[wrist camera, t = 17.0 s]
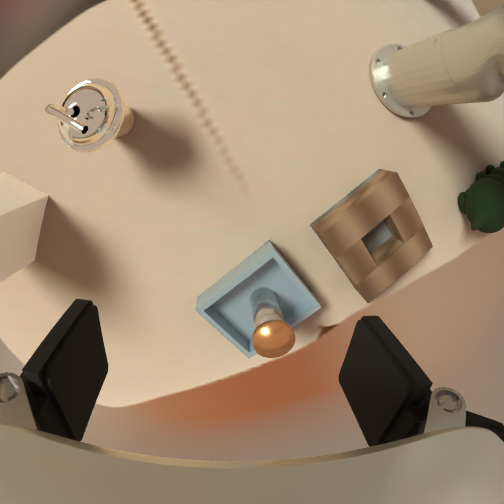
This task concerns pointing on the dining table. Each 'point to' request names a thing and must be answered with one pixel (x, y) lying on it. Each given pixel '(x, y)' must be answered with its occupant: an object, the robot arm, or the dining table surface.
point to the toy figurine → (485, 200)
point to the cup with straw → (92, 115)
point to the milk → (19, 223)
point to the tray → (240, 289)
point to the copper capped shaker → (269, 325)
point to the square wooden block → (374, 233)
